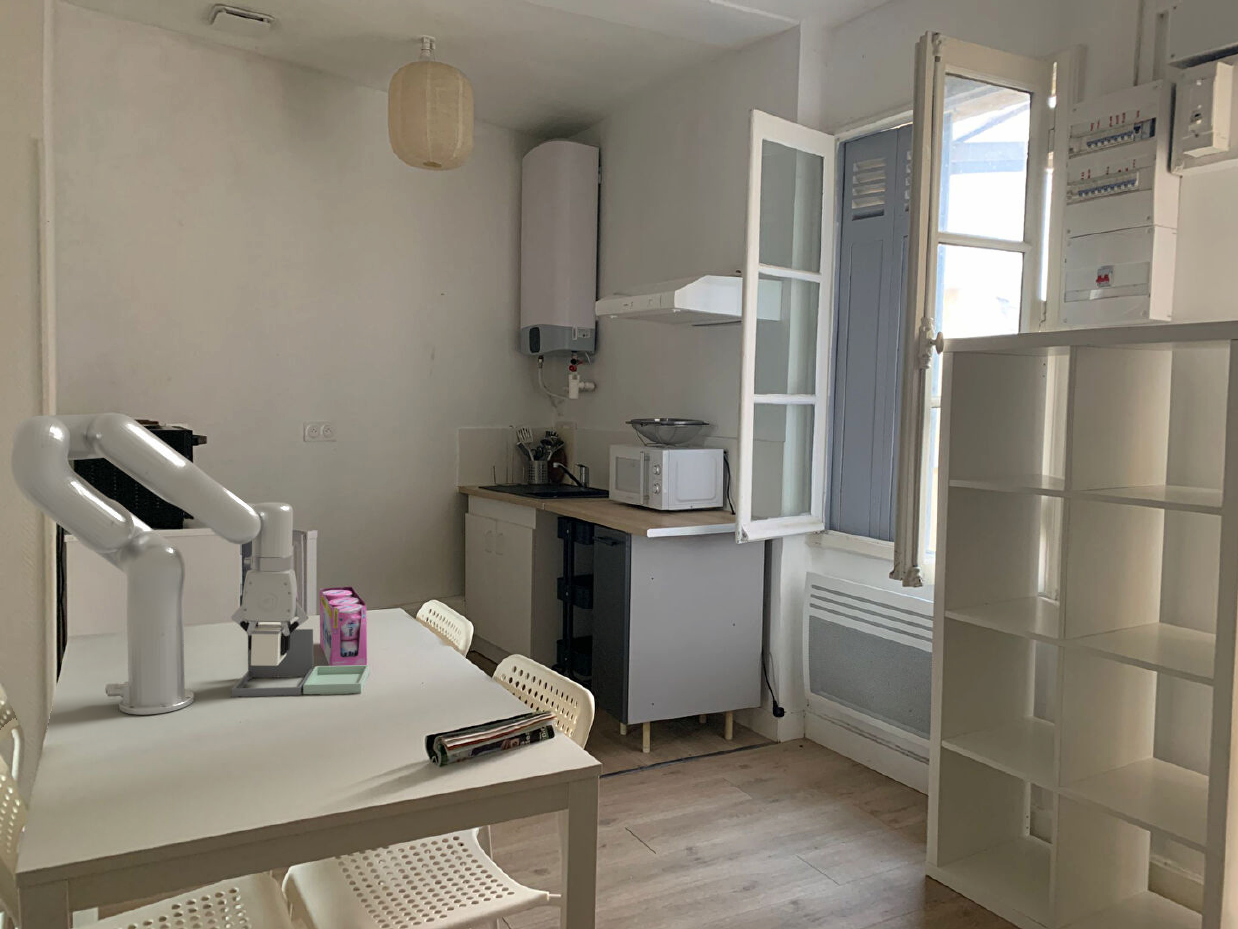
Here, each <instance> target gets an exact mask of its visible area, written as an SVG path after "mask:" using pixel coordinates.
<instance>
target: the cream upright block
mask: <svg viewBox="0 0 1238 929" xmlns="http://www.w3.org/2000/svg"><path fill="white" fill-rule="evenodd" d="M282 633H283V630H282V626H281V623H280V622H259V623H258V625H257V626H256V627H255V628H254V629H253V630H252V631H251V634H252V645H251V665H261V666H277V665H278V664H279V663H280V662H281V661H282V660H283V658H284V657H285V656H286V654H285V655H280V652H281V636H282Z"/></svg>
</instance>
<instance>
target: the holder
mask: <svg viewBox="0 0 1238 929" xmlns="http://www.w3.org/2000/svg"><path fill="white" fill-rule="evenodd" d="M248 645H249V635H247V646H248ZM313 670H314V629H313V628H296V629H295V630H294V631H293V632H291V633H290V649H289V650H287V653H286V656H285V657H284V658H283V660H282V661H281V662H280V663H279V664H278V665H277V666H261V665H251V650H249V649H248V648H247V672H246V673H245V674H243V675H242V677H241V678H240V679H239V680H238V681H237V683H236V684H235V685H234V686H233V687H232V688H231V690H230V691H231V698H238V697H239V696H241V697H242V698H243V697H273V696H274V697H275V696H276V697H278V696H277V695H284V696H301V695H302V694H303V685H304V683H305V682H306V680H307V679H308V677H309V676H310V674H311V673H312V671H313ZM278 676H279V677H278ZM282 676H286V677H285V678H288V677H287V676H305V677H304V678H303V680H302V681H301V683H300V684H299V686H281V687H276V686H275V687H247V688H246V687H245V688H244V686H245V685H246V684H247V683H246V682H247V681H248V682H249V681H250V679H251V677H264V678H283V677H282ZM301 693H302V694H301ZM241 697H239V698H241Z"/></svg>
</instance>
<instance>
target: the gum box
mask: <svg viewBox="0 0 1238 929" xmlns="http://www.w3.org/2000/svg"><path fill="white" fill-rule="evenodd" d="M318 594H319V596H318V597H319V599H318V600H319V645H320V644H321V645H320V647H321V649H323V650H322V651H324V652H323V654H324V656H325V658H327V659H326V660H327V663H328V666H347V665H368V635H367V634H368V632H367V631H368V630H367V627H368V626H367V623H368V621H367V619H368V618H367V603H366V602H365V600H364V599H363V598H362V597H361V596H360V595H359V594H358V592H357V591H356V590H355V589H354V587H353V586H336V587H325V588H324V587H323V588H322V587H321V588H320V589H319V593H318Z"/></svg>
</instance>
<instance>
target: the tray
mask: <svg viewBox="0 0 1238 929" xmlns="http://www.w3.org/2000/svg"><path fill="white" fill-rule="evenodd" d="M369 676H370V664H367V665H347V666H330V665H316V666H315V667H313V671H312V673H311V674H310V676H309V677H308V679H307V680H306V682H305V683H304V685H303V692H302V695H303V694H321V695H346V694H347V695H351V694H352V693H354V694H355V693H358V694H362V692H363V690H364V688H363V687H365V685H366V683H367V681H368V679H367V678H369ZM365 682H366V683H365ZM350 693H351V694H350ZM352 695H353V694H352Z"/></svg>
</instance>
